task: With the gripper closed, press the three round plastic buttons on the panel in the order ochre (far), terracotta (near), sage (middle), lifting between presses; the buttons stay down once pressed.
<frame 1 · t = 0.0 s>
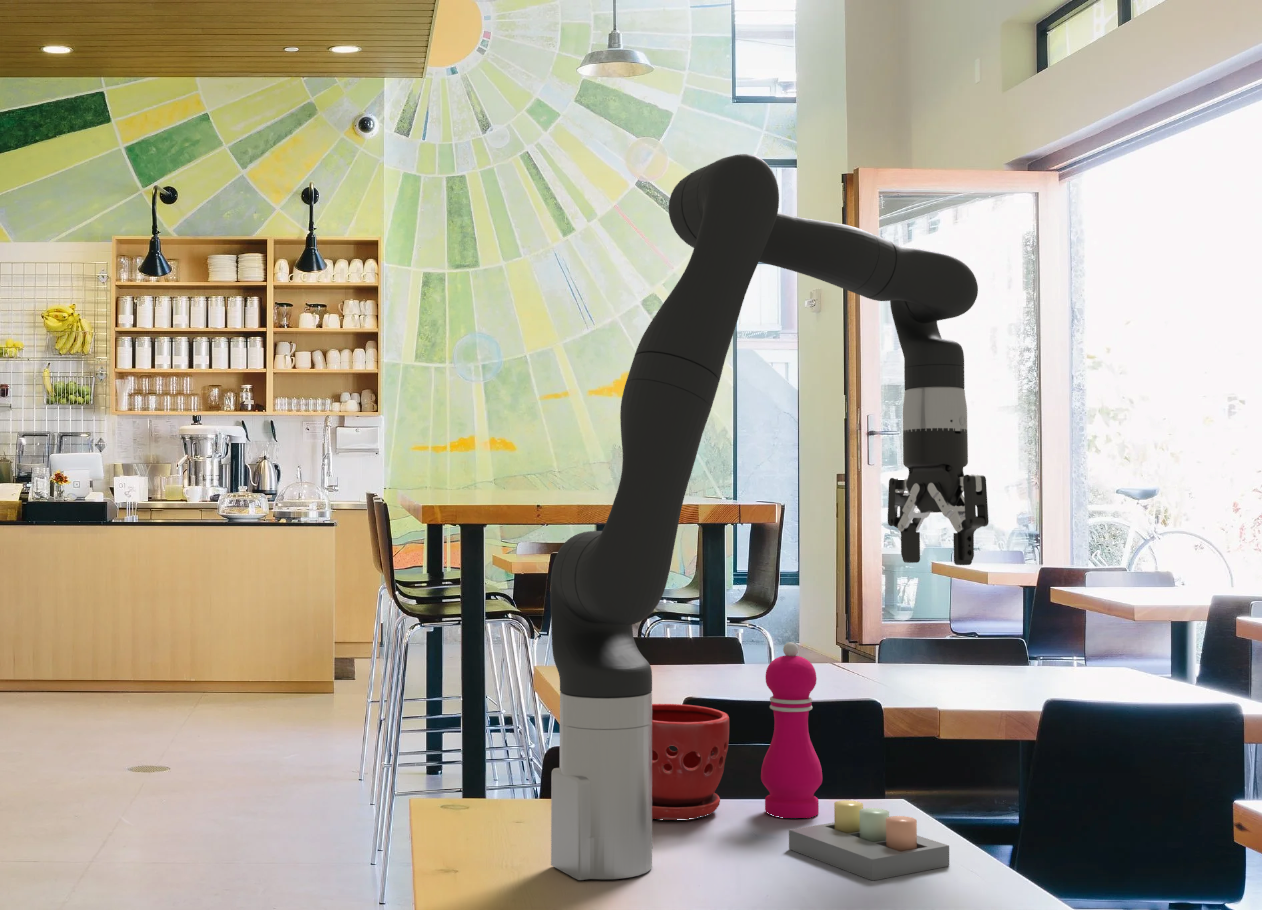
hand: (936, 563, 144), 29 cm above the table, fingers open, 8 cm apart
pepper mill: (791, 814, 143), on the table
sage button: (874, 826, 125), point 3 cm above the table, slide at 0.0 cm
plant pot: (673, 814, 143), on the table
ochre button: (848, 817, 128), point 3 cm above the table, slide at 0.0 cm
panel: (867, 857, 124), on the table
terracotta button: (901, 834, 121), point 3 cm above the table, slide at 0.0 cm
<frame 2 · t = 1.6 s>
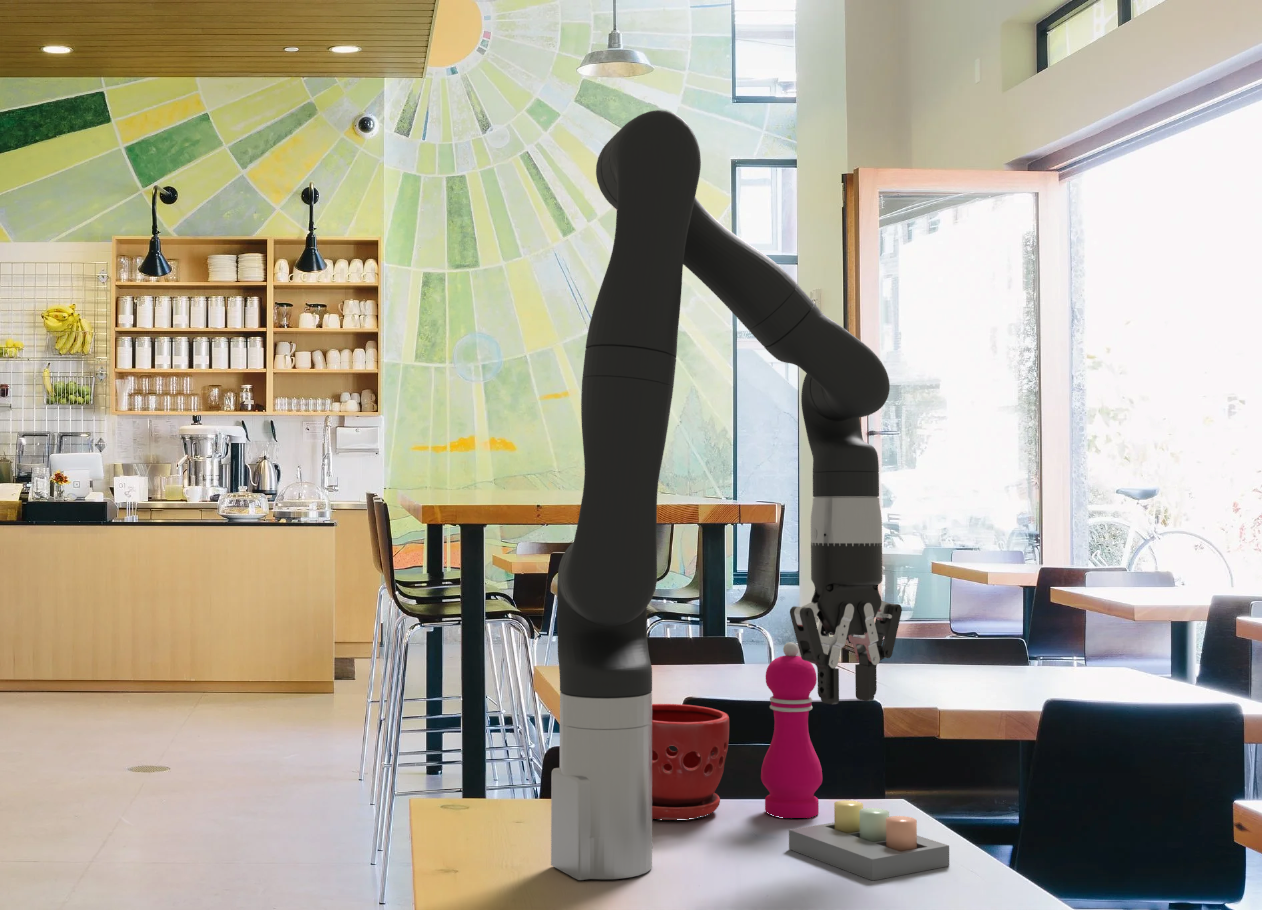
hand: (847, 700, 129), 15 cm above the table, fingers open, 4 cm apart
nothing on the table moved.
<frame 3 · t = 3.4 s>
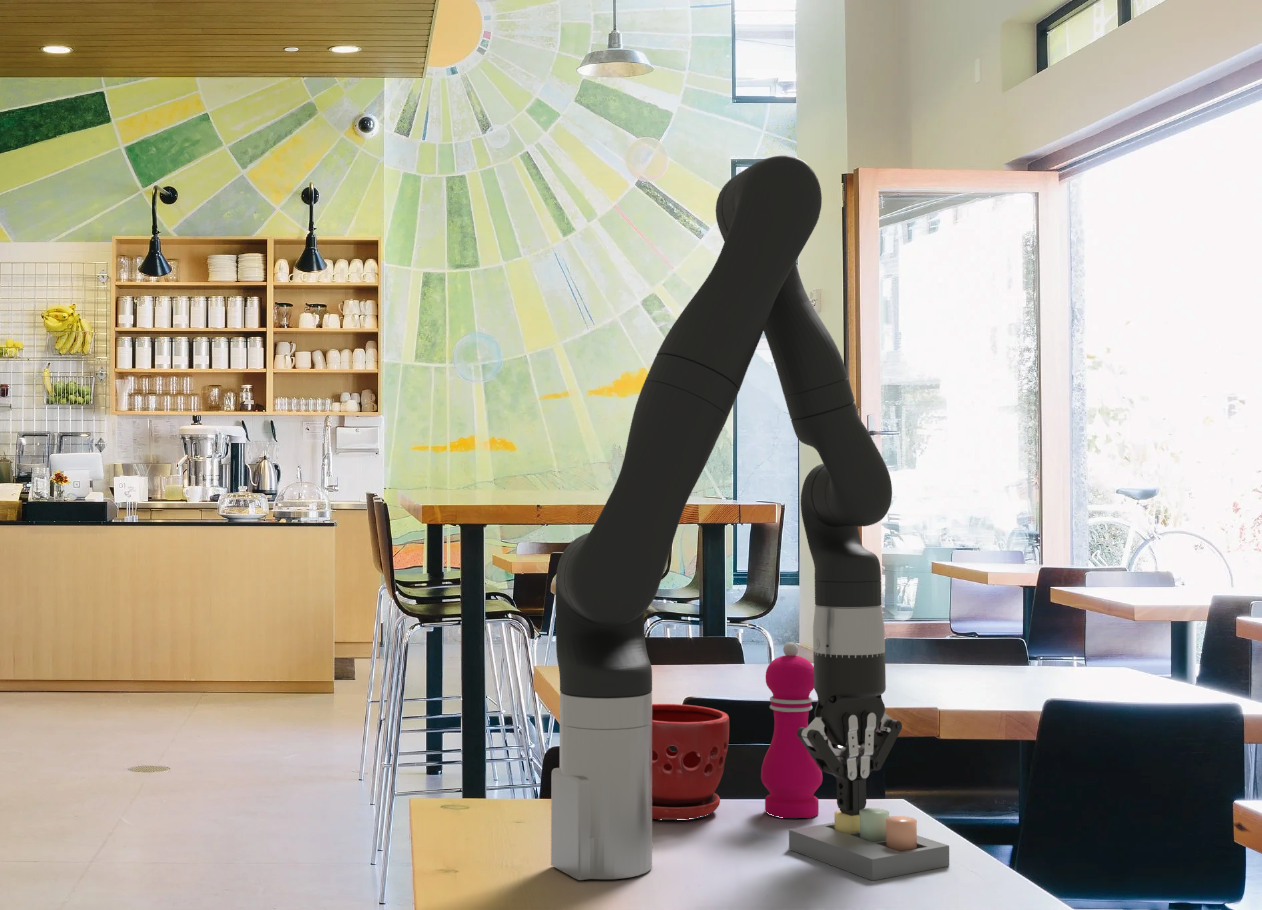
hand: (852, 813, 128), 3 cm above the table, fingers closed
ochre button: (848, 827, 128), point 2 cm above the table, slide at 1.0 cm, touching gripper
everything else where it was.
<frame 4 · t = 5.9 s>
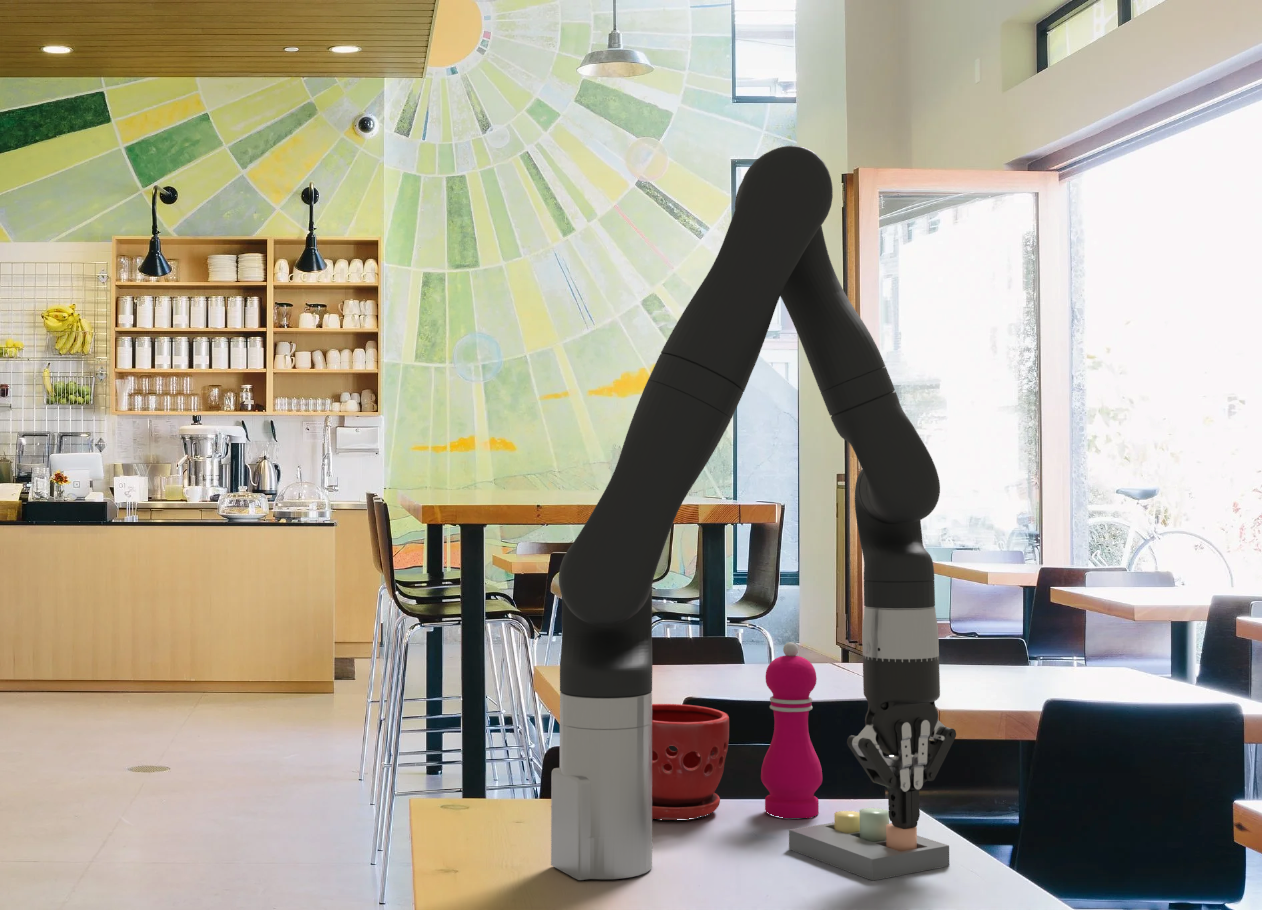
hand: (904, 826, 121), 4 cm above the table, fingers closed
ochre button: (848, 828, 128), point 2 cm above the table, slide at 1.1 cm
terracotta button: (901, 841, 121), point 2 cm above the table, slide at 0.7 cm, touching gripper
everything else where it was.
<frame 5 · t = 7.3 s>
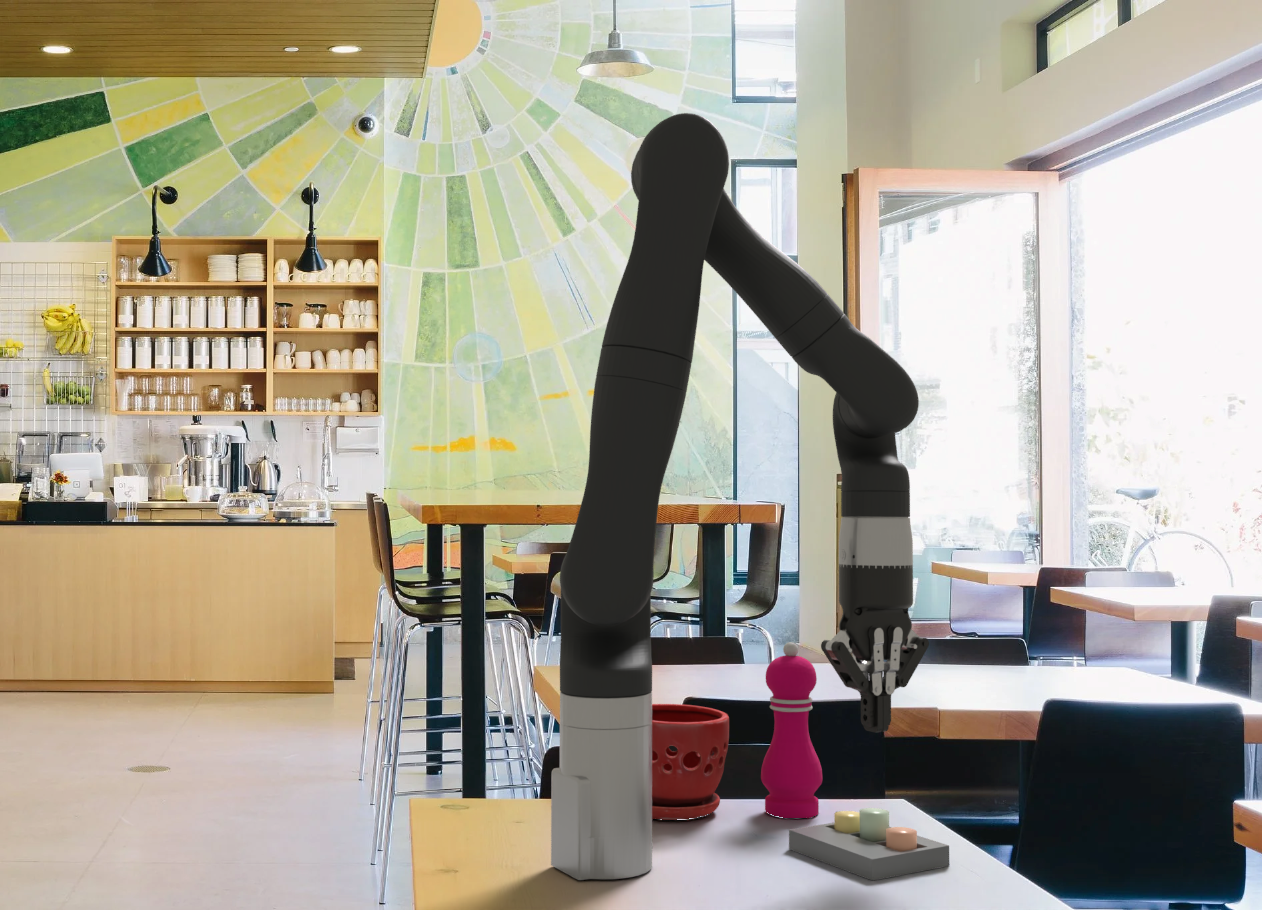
hand: (876, 730, 125), 13 cm above the table, fingers closed
terracotta button: (901, 845, 121), point 2 cm above the table, slide at 1.1 cm
everything else where it was.
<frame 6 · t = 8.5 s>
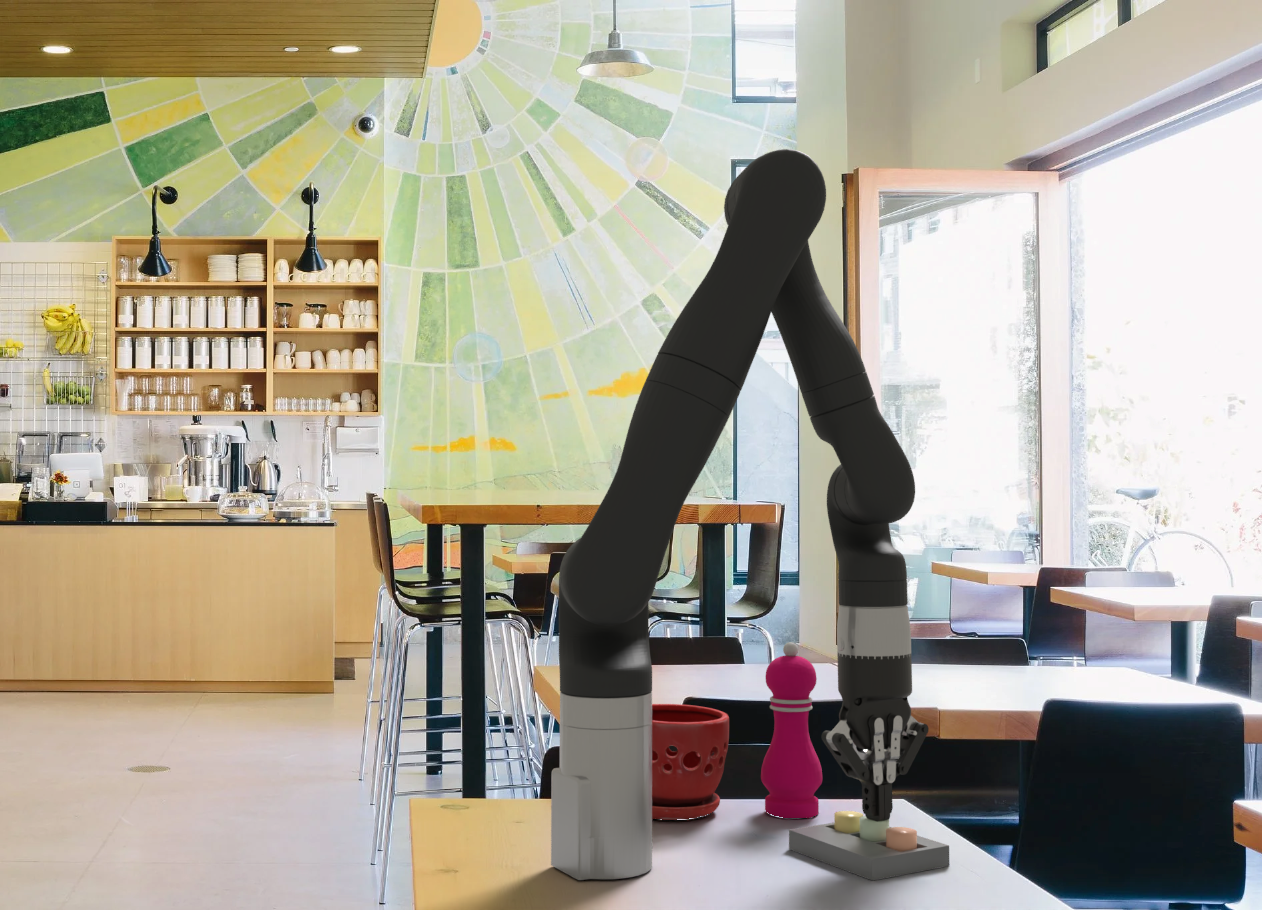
hand: (877, 818, 125), 4 cm above the table, fingers closed
sage button: (874, 833, 125), point 2 cm above the table, slide at 0.8 cm, touching gripper
everything else where it was.
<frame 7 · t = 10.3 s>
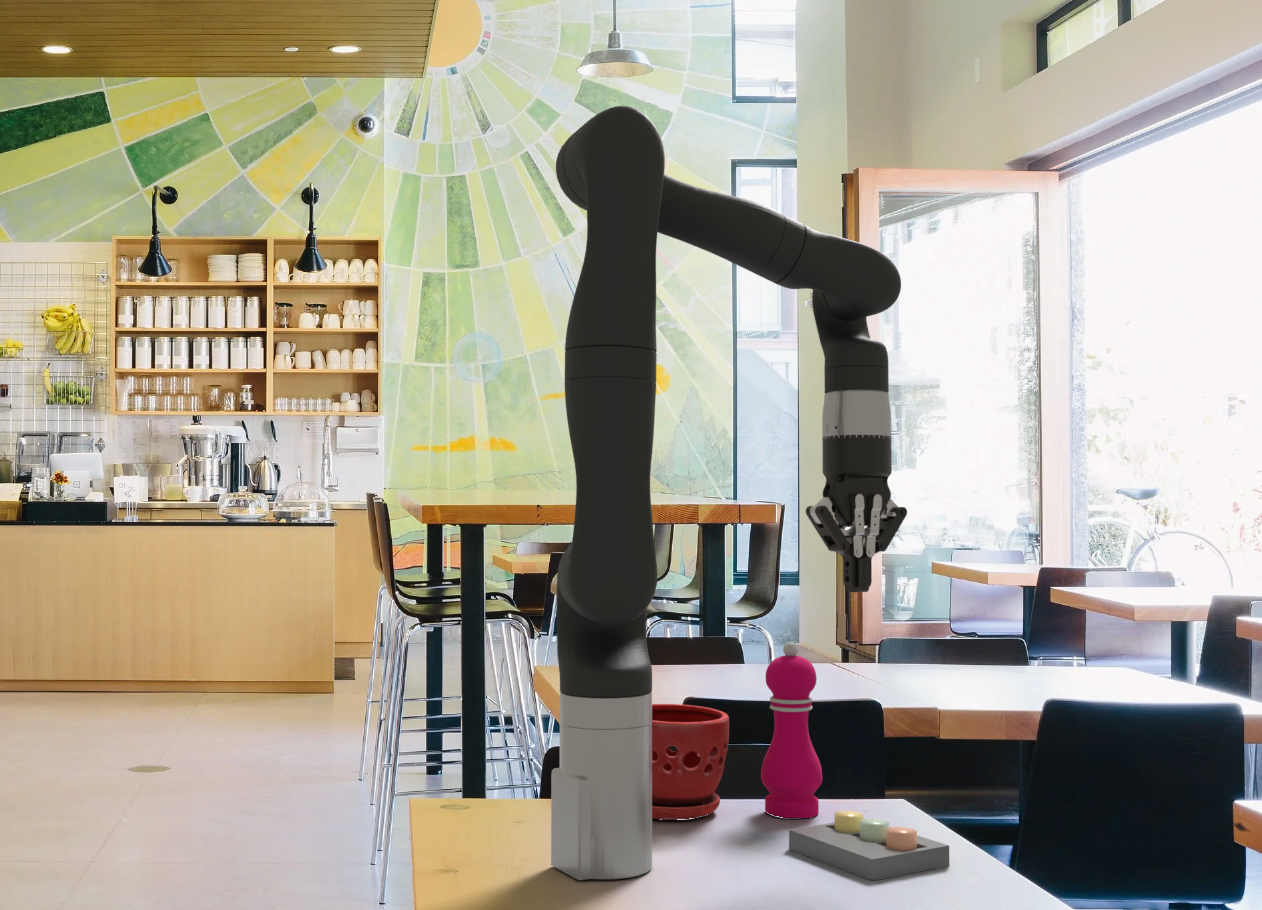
hand: (857, 591, 133), 27 cm above the table, fingers closed
sage button: (874, 836, 125), point 2 cm above the table, slide at 1.1 cm
everything else where it was.
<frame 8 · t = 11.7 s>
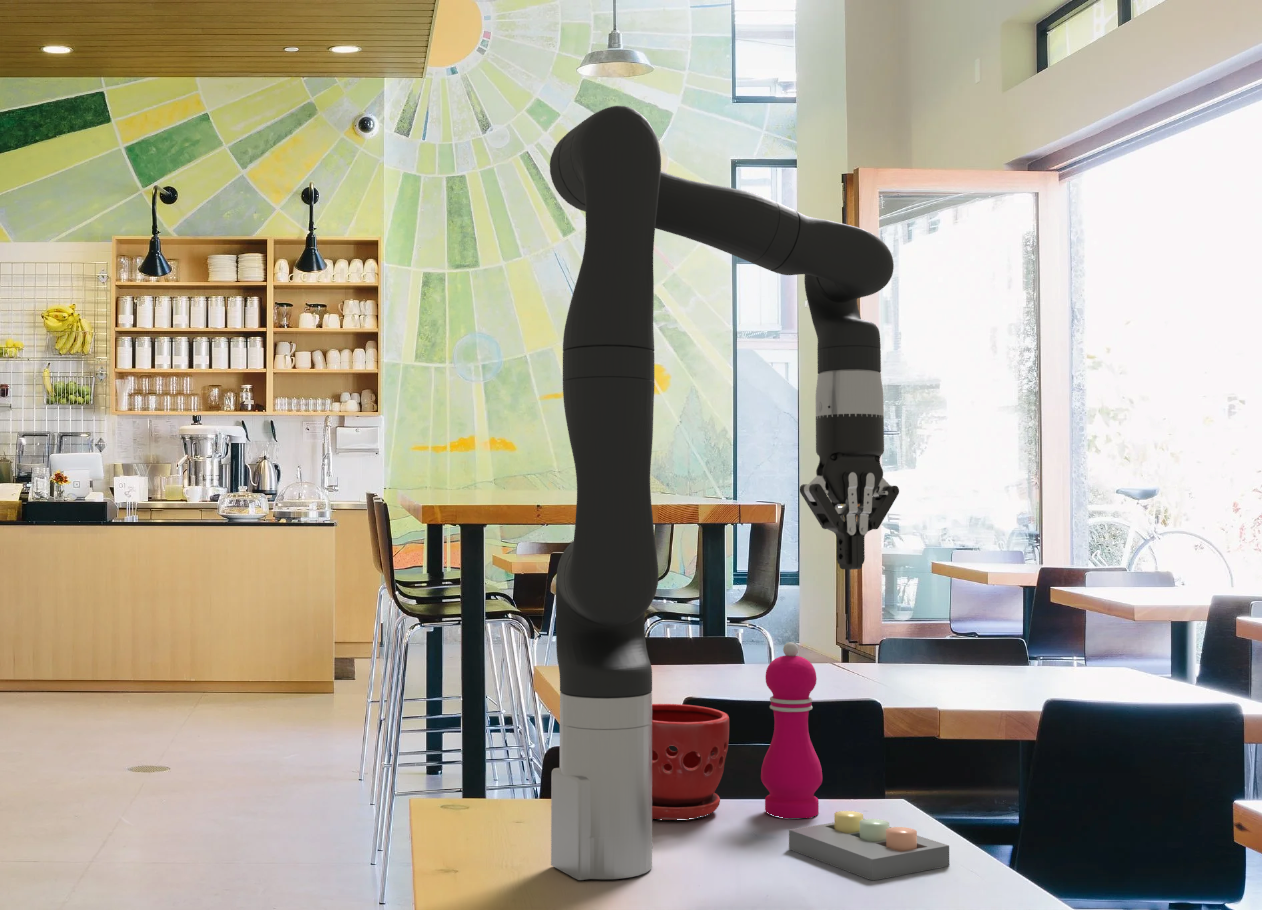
hand: (850, 568, 135), 29 cm above the table, fingers closed
nothing on the table moved.
at the end: ochre button slide at 1.1 cm; terracotta button slide at 1.1 cm; sage button slide at 1.1 cm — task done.
